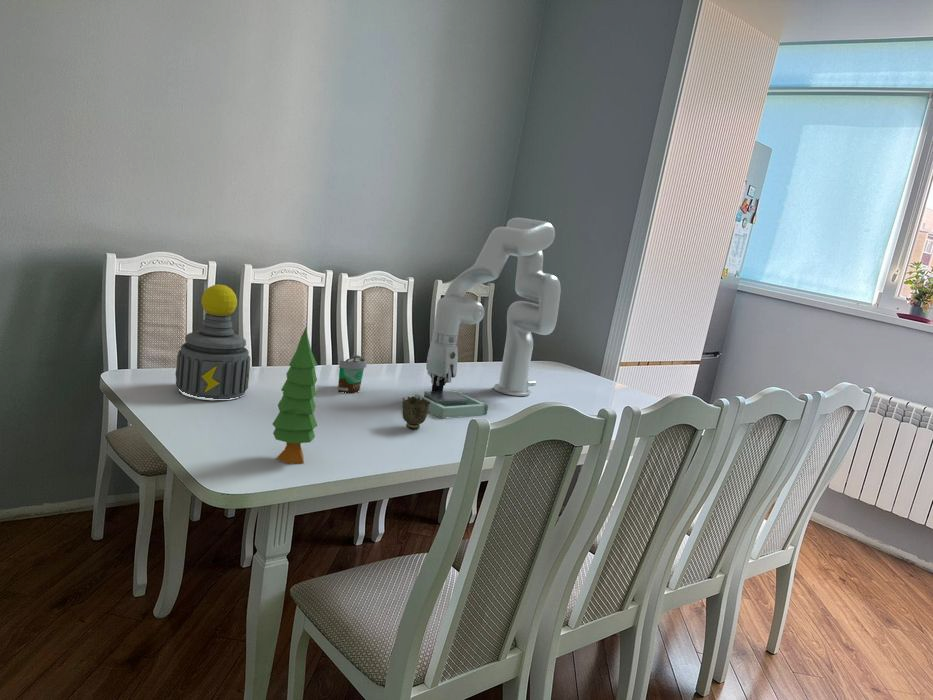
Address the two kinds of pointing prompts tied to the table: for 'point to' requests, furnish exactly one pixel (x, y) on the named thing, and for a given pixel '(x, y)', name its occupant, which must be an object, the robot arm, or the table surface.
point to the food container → (351, 374)
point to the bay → (457, 407)
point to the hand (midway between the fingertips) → (436, 397)
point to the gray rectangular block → (446, 398)
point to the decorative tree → (297, 404)
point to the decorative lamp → (214, 351)
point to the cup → (414, 411)
